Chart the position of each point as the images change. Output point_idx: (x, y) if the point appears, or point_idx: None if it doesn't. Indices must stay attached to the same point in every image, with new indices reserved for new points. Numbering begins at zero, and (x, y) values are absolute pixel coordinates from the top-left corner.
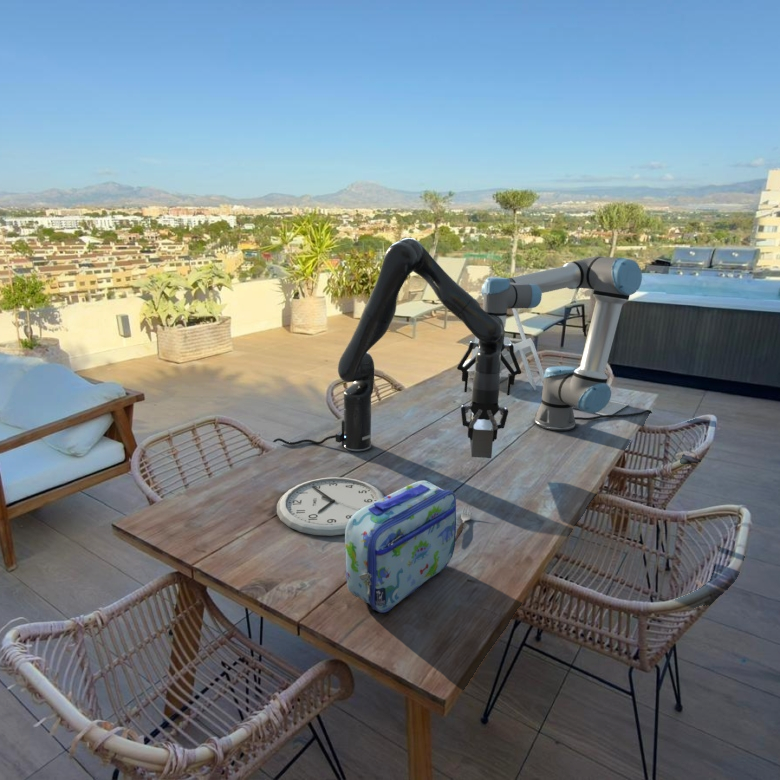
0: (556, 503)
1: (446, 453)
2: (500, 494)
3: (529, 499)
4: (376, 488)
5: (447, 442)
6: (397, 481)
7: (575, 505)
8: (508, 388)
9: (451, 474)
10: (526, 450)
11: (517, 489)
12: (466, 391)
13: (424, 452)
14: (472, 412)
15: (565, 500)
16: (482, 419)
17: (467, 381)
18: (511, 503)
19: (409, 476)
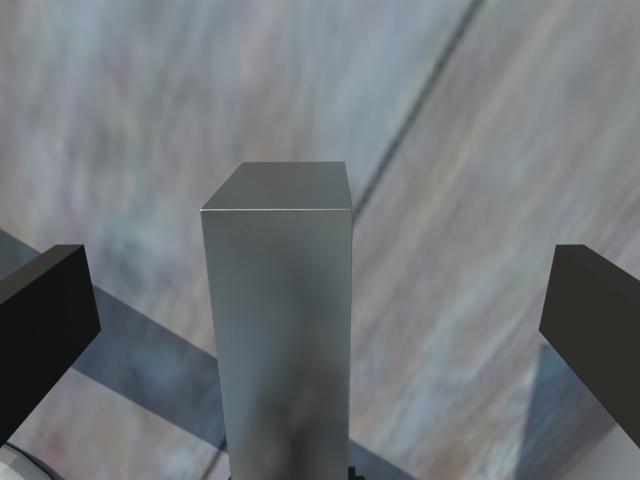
0: (521, 453)
1: (170, 160)
2: (368, 429)
3: (449, 443)
4: (12, 470)
5: (154, 20)
6: (54, 397)
7: (573, 456)
8: (591, 382)
9: (213, 335)
10: (551, 59)
11: (425, 398)
12: (93, 333)
13: (75, 165)
14: (223, 376)
15: (555, 437)
16: (291, 473)
17: (21, 420)
18: (393, 466)
19: (79, 365)
